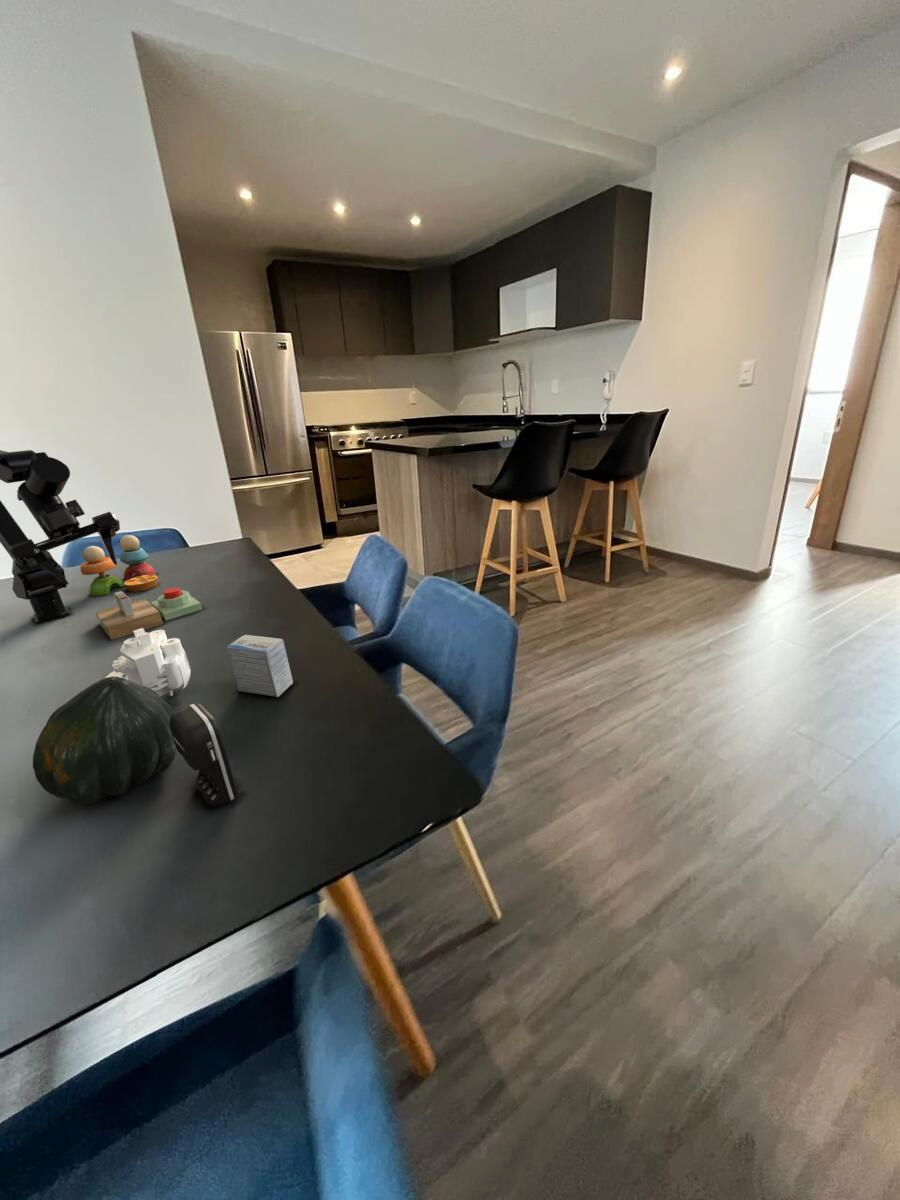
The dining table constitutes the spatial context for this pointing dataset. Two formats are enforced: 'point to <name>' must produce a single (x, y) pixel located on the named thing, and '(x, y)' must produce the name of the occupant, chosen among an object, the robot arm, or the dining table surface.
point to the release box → (176, 605)
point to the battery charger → (204, 753)
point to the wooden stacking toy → (100, 564)
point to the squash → (104, 742)
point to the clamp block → (129, 619)
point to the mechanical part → (153, 662)
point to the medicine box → (260, 665)
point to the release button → (172, 593)
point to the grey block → (124, 603)
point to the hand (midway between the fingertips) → (92, 573)
